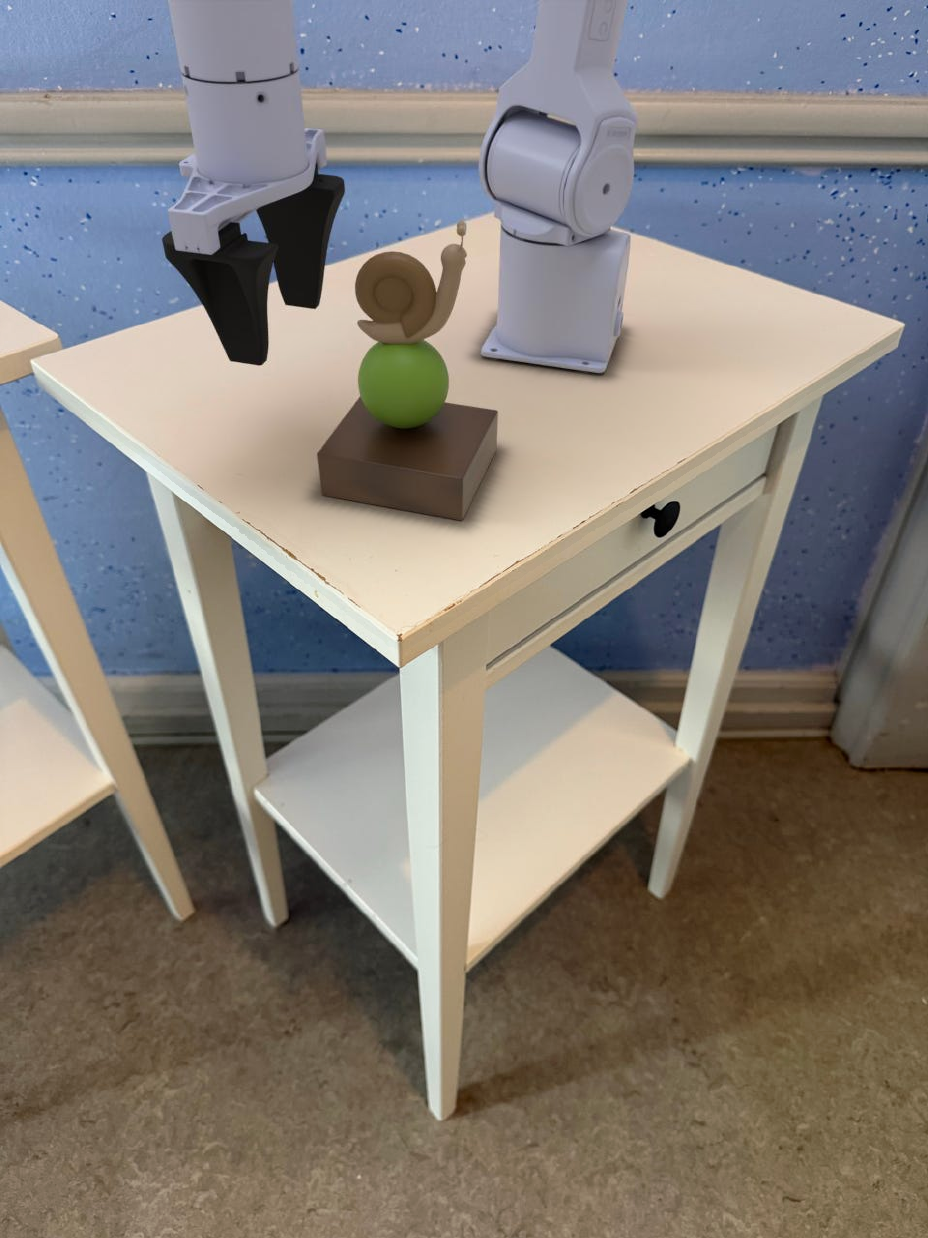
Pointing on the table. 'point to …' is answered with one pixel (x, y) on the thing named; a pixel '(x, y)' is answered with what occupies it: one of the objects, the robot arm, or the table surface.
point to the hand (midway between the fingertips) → (276, 331)
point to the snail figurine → (406, 334)
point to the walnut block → (410, 460)
